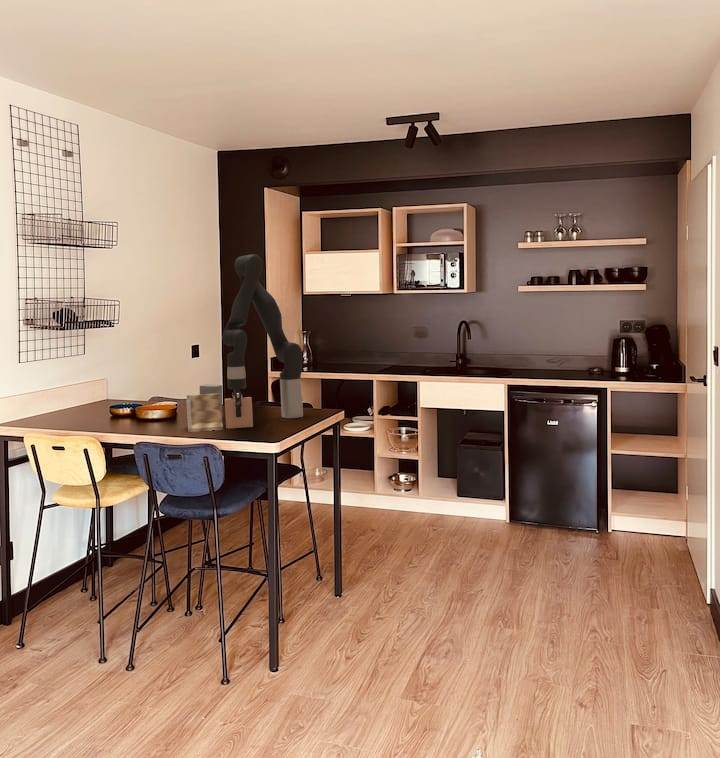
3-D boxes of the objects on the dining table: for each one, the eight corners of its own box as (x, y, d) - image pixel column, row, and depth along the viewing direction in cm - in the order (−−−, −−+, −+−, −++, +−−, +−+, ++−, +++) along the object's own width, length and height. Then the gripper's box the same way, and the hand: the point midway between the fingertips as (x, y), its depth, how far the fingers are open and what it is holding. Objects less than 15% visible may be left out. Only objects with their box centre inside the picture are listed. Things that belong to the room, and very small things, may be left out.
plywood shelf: (222, 424, 319) (220, 393, 317) (223, 429, 306) (221, 397, 305) (188, 426, 316) (186, 395, 314) (188, 432, 303) (186, 399, 302)
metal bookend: (192, 423, 315) (190, 397, 313) (191, 428, 304) (190, 401, 302) (188, 423, 314) (186, 398, 313) (188, 428, 303) (186, 402, 302)
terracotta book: (252, 424, 316) (250, 396, 314) (253, 426, 312) (251, 398, 310) (226, 426, 314) (224, 398, 312) (226, 428, 309) (224, 400, 308)
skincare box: (199, 421, 329) (197, 385, 327) (207, 418, 335) (205, 383, 333) (216, 421, 326) (214, 385, 324) (224, 418, 333) (222, 383, 331)
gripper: (246, 378, 304) (248, 417, 306) (244, 375, 318) (246, 412, 320) (227, 379, 302) (229, 418, 304) (226, 375, 316) (228, 413, 318)
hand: (238, 415), depth 312 cm, fingers open, 8 cm apart
